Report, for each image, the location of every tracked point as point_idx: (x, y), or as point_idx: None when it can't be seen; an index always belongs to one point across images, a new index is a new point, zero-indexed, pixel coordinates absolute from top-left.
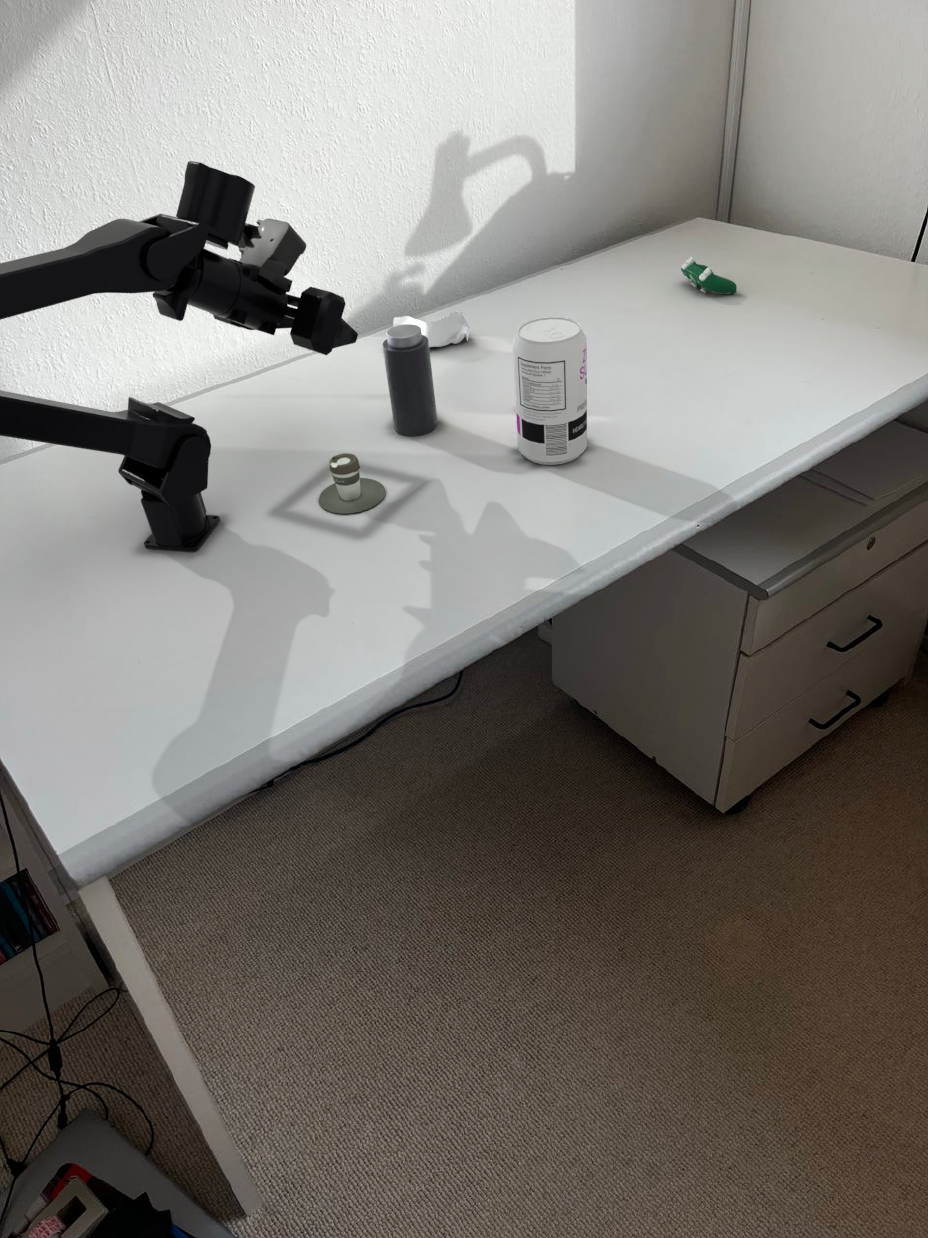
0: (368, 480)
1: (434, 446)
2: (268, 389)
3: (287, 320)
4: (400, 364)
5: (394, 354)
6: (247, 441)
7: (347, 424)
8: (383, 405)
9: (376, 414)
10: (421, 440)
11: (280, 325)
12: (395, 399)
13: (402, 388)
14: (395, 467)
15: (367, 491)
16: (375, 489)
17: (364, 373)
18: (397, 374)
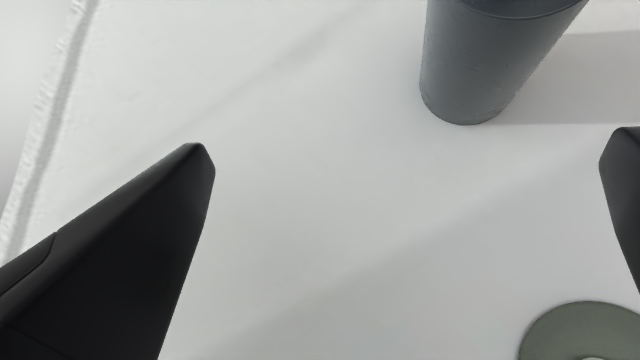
0: (577, 310)
1: (573, 118)
2: (111, 149)
3: (172, 250)
4: (555, 32)
5: (552, 20)
6: (218, 314)
7: (337, 157)
8: (341, 65)
9: (356, 97)
10: (525, 116)
11: (170, 296)
12: (483, 96)
13: (522, 73)
14: (573, 229)
15: (618, 348)
16: (626, 331)
17: (217, 6)
18: (526, 58)
